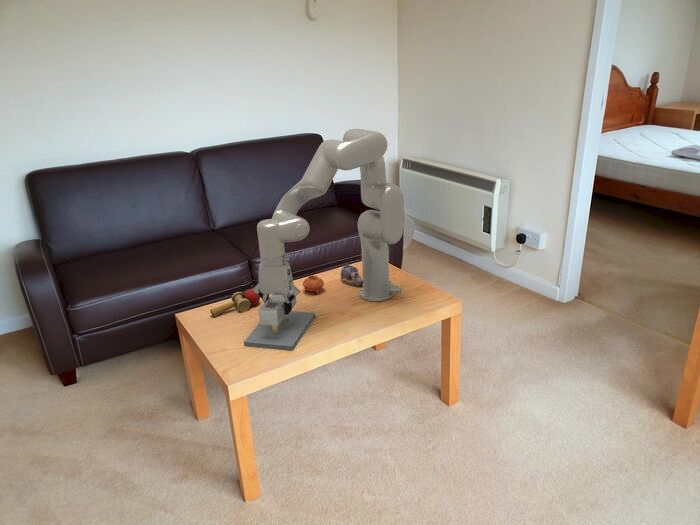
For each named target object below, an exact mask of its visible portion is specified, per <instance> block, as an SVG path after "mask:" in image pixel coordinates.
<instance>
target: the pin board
mask: <svg viewBox="0 0 700 525" xmlns="http://www.w3.org/2000/svg"><path fill="white" fill-rule="evenodd" d="M315 318H316V313H315V312H311V311H310V312H309V311H302V310H301V311H300V310H299V311H298V310H292V311H291V312H290V313H289V314H288V315H286V317H285V318H284V319H283V320H282V322H281V323H280V324H279V325H278V326H275V325H264V324H260V322H258V324H257V326H255V328H254V329H253V330H251V332H250V333H249V335H248V336H246V339H245V340H244V341H243V345H244V347H250V348H251V347H252V348H263V349H271V350H283V351H291V352H292V351H294V349H295V348H296V346H297V345H298V344H299V342H300V340H301V339H302V337H303V336H304V335H305V333H306V331H307V330H308V329H309V327H310V325H311V324H312V322H313V320H315Z"/></svg>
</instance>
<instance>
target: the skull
mask: <svg viewBox="0 0 700 525" xmlns="http://www.w3.org/2000/svg"><path fill="white" fill-rule="evenodd" d="M339 274H340V280H342V281H345V282H346V283H348V284H349V285H351V286H357V287H358V286H359V285H360V286H361V285H363V277H362V276H361V275H360V273H359V269H358V268H357V267H356V266H353V265H350V264H344V266H342V268H341V270H340V273H339Z"/></svg>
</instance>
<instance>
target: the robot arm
mask: <svg viewBox="0 0 700 525" xmlns="http://www.w3.org/2000/svg"><path fill="white" fill-rule="evenodd" d="M387 151H388V140H387V137H386V136H385V135H384V134H383V133H382V132H379V131H376V130H375V131H374V130H368V129H364V128H362V129H360V128H350V129H348V130H346V132H344V134H343V136H342V140H338V139H326V140H324V141H322V142H321V143H320V145H319V146H318V148H317V150H316V152H315V153H314V155H313V157H312V159H311V161H310V163H309V165H308V166H307V168H306V170H305V172H304V174H303V176H302V178H301V179H300V181H298V182H297V183H296V184H295V185H294V186H292V187H291V188H290V189H289V190H288V191H287V192H286V193H285V194H284V195H283V197H281V199H280V201H279V202H278V204H277V206H276V208H275V210H274V212H273V214H272V217H271V218H268V219H262V220H261V221H260V220H259V222H258V223H257V225H256V231H257V239H258V246H259V247H258V248H259V255H260V263H259V264H258V265H259V266H258V283H257V284H256V285H255V286H254V288H252V289H253V290H254V291H255V292H256V293H257V294H258V296H259V297H260V299H261V300H262V302H263V304H264V303H265V302H266V301H267V300H268V298H269V297H270V296H271V295H283V297H284V299H285V301H286V303H285V311H286V315H288V314H289V313H290V312H291V311H293V308H292V303H291V301H292V300H293V299H294V298H295V297H296V298H297V296H298V295H299V294H300V293H301V291H300V289H299V288H298V287H296V285H295V284H294V279H293V274H292V273H293V272H292V270H291V266H290V256H287V254H286V251H285V243H293V242H300V241H302V240H304V239H306V238H307V237H308V235H309V233H310V229H311V228H310V224H309V222H308V221H307V220H306V219H305V218H303V217H301V216H298V215H297V214H298V212H299V210H300V209H301V207H303V205H304V204H306V203H307V202H308V201H310V200H312V199H315V198H316V199H317V198H319V197H321V196H323V195H325V194H326V193H327V191H328V189H329V187H330V186H331V183H332V182H333V179H334V178H335V176H336V175H337V173H338V171H339V170H341V171H351V170H354V169H355V170H356V169H358V168H359V174H360V198H361V202H362V204H364V205H365V206H367V207H369V208H372V209H367V210H365V211H364V212H362V213H361V214H359V215H360V216H359V218H358V220H357V230H358V235H359V240H360V245H361V247H360V248H361V266H362V267H361V268H362V270H361V271H362V279H363V284H362V288H361V289H359V291H358V292H359V293H358V294H359V297H360V298H361V299H363V300H364V301H368V302H383V301H387V300H390V299H391V298H392V297H393V296H394V295H395V293H397V294H401V293H402V287H400V285H398V284H392V280H390V266H389V264H390V260H389V258H390V256H389V253H390V251H389V245H395V244H397V243H398V242H399V241H400V240H401V238H402V236H403V234H404V230H405V197H404V193H403V191H402V189H401V188H400V187H399V185H396V184H395V183H391V182H388V181H387V171H386V162H385V158H384V155H385V154H386V152H387ZM290 290H292V291H293V292H294V293H293V294H292V295H291V294H290V292H289V291H290Z"/></svg>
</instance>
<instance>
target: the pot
mask: <svg viewBox="0 0 700 525" xmlns="http://www.w3.org/2000/svg"><path fill="white" fill-rule="evenodd" d="M324 284H325V282H324V280H323V279H322V278H321V277H319V276H317V275H313V274H312V275H308V277H306V278H304V280H303V282H302V286H303V289H304V291H305V292H308V291H310V292H315V293H316V294H317V295H318V294H319V293H320V289H322V288H323V287H324Z"/></svg>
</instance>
